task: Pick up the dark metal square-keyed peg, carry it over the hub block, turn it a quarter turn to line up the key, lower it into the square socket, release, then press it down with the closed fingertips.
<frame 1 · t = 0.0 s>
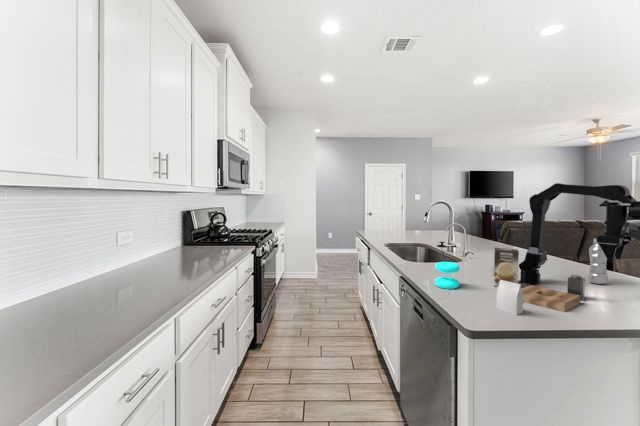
hand: (614, 260, 118), 15 cm above the countertop, fingers open, 9 cm apart
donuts: (446, 286, 138), on the countertop
plastic bottle: (597, 284, 140), on the countertop
white upright block: (509, 311, 108), on the countertop
peg: (575, 298, 120), on the countertop
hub: (545, 301, 117), on the countertop
coffee box: (504, 286, 138), on the countertop
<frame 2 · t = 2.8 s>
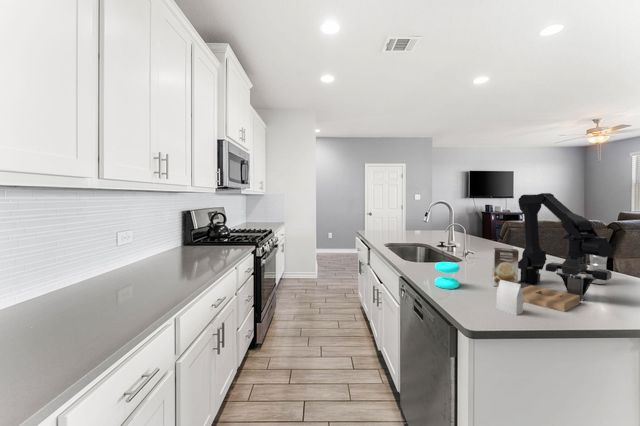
hand: (576, 293, 120), 2 cm above the countertop, fingers closed on peg, 4 cm apart
peg: (575, 298, 120), on the countertop, touching gripper
everything else where it was.
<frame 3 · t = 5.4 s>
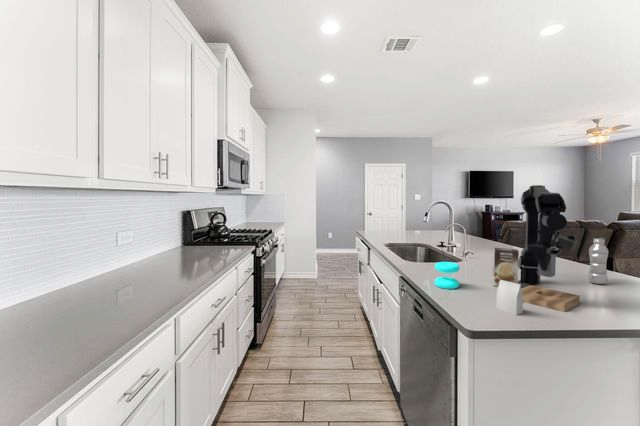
hand: (546, 269, 116), 12 cm above the countertop, fingers closed on peg, 4 cm apart
peg: (546, 275, 116), point 10 cm above the countertop, touching gripper
everything else where it was.
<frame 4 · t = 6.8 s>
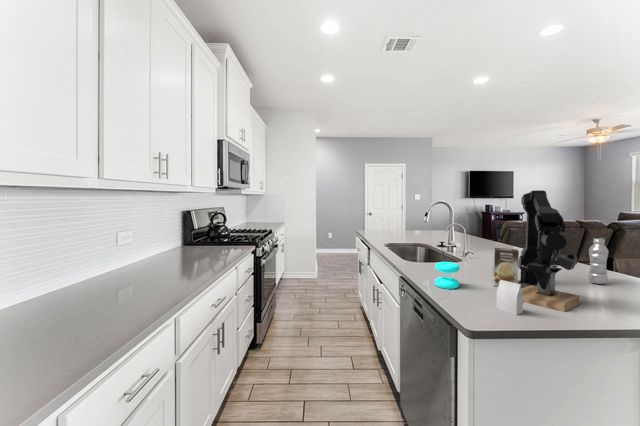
hand: (546, 287, 117), 5 cm above the countertop, fingers closed on peg, 4 cm apart
peg: (545, 293, 117), point 3 cm above the countertop, touching gripper
everything else where it was.
when the fingers open (3 cm above the countertop, at t = 8.0 s): peg drops 1 cm, resting in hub.
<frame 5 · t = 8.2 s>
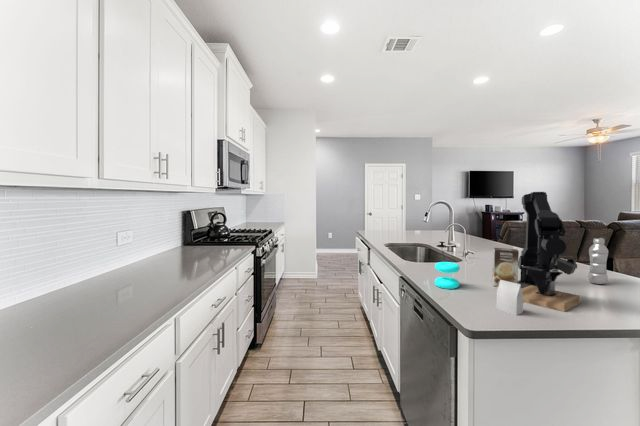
hand: (546, 292, 117), 3 cm above the countertop, fingers open, 6 cm apart
peg: (545, 301, 117), resting in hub
everything else where it was.
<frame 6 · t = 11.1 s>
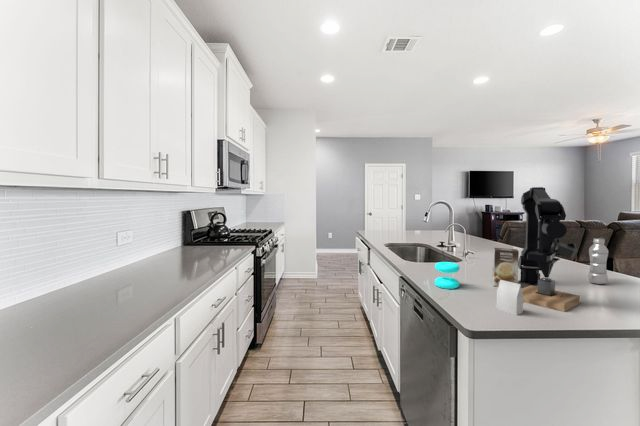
hand: (546, 277, 117), 9 cm above the countertop, fingers closed
nothing on the countertop moved.
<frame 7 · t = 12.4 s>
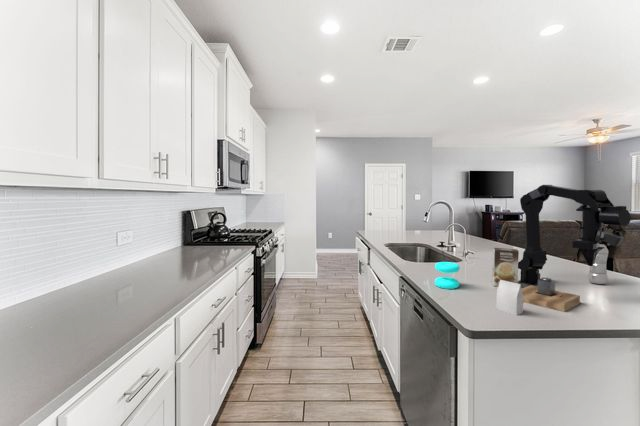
hand: (590, 265, 117), 13 cm above the countertop, fingers closed
nothing on the countertop moved.
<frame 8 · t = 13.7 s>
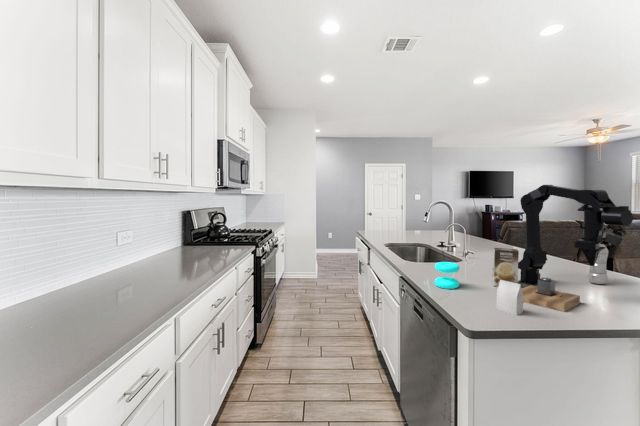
hand: (592, 265, 117), 13 cm above the countertop, fingers closed
nothing on the countertop moved.
at the end: peg 0.0 cm off-centre on the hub, point 0.0 cm above the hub's base; peg tilted 0°; the gripper is holding nothing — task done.
